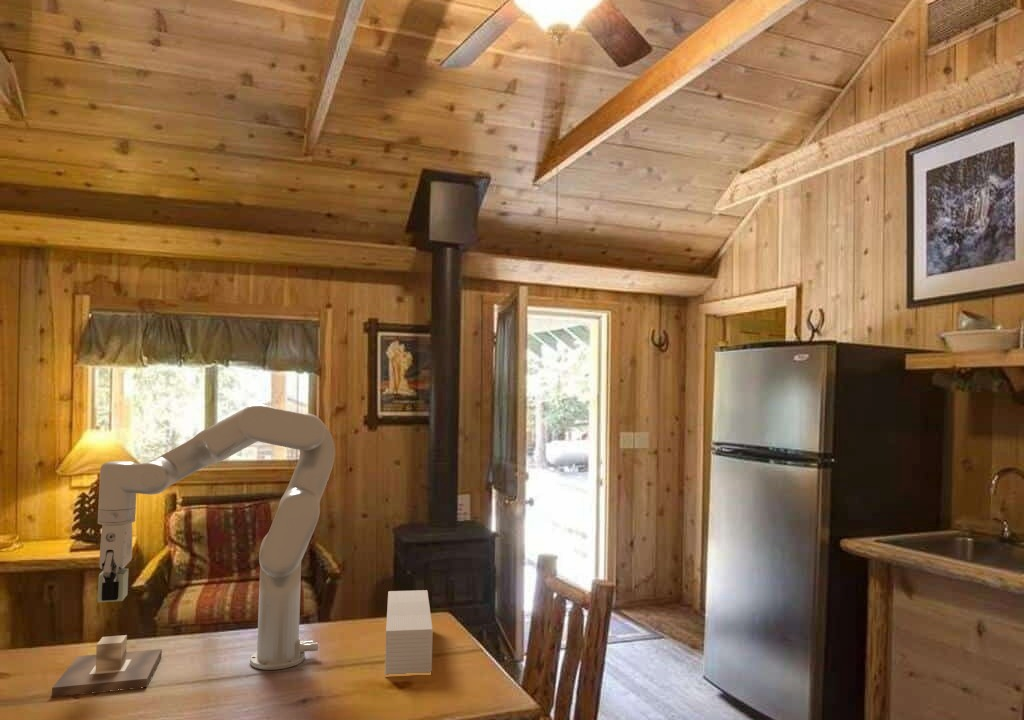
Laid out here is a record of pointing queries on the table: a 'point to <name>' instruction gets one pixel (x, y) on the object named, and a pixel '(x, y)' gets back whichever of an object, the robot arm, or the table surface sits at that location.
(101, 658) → the maple block
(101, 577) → the sage block
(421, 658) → the stack of papers
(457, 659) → the table surface
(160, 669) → the table surface
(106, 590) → the robot arm
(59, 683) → the walnut board
